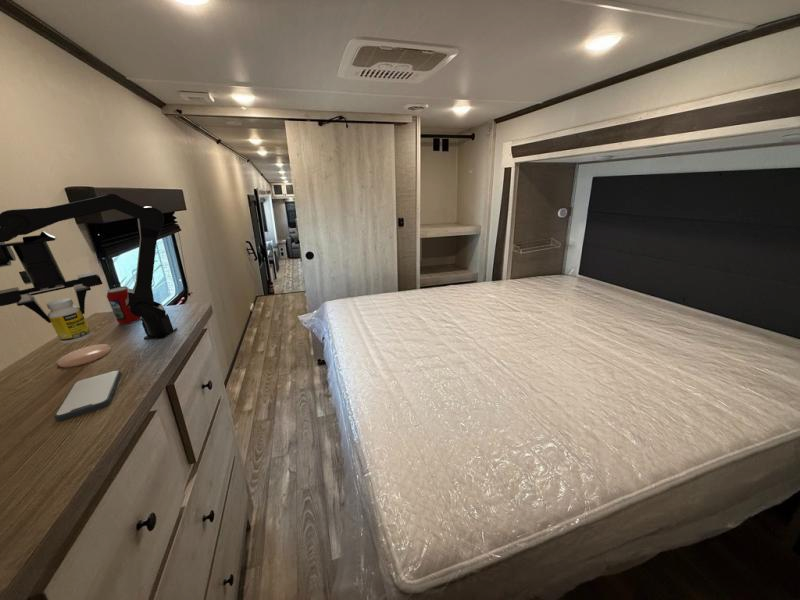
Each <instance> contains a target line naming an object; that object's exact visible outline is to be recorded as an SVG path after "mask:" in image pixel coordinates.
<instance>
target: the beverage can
mask: <svg viewBox="0 0 800 600" xmlns="http://www.w3.org/2000/svg"><path fill="white" fill-rule="evenodd" d="M127 288H128V286H118V287H117V286H116V287H114V288H111V289H108V290H106V291H107V293H106V298H107V301H108V303H109V305H110V308H111V311H112V312H113V315H114V317H115V319H116V321H117V323H118V324H122V325H128V323H129V324H132V322H133V323H135V321H136V322H138V321H139V320H141V319H142V317H137V316H135V315H133V314H132V313H131V312H130V309H129V306H128V307H127V306H126V301H125V300H126V299H127V296H128V294H127ZM128 289H130V288H128Z"/></svg>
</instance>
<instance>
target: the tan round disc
mask: <svg viewBox="0 0 800 600" xmlns="http://www.w3.org/2000/svg"><path fill="white" fill-rule="evenodd" d="M111 351H112V347H111V345H109V344H106V343H102V344H99V343H98V344H93V345H90V346H89V345H88V346H86V347H82V348H79V349H75V350H74V351H71V352H68V353H66V354H65V355H63V356H61V357H60V358H59V359H58V360H57V361H56V363H57V365H58V367H60V368H73V367H78V366H82V364H83V365H85V364H88V363H92V362H94V361H97V360H98V358H99V359H100V358H101V359H102V358H103V357H104V356H106V355H108V354H109V353H110V352H111ZM96 359H97V360H96Z"/></svg>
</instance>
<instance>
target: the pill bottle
mask: <svg viewBox="0 0 800 600" xmlns="http://www.w3.org/2000/svg"><path fill="white" fill-rule="evenodd" d="M46 307H47V309H48V310H50V311H49V312H48V313H47V315H48V317H49V319H50V321H51V323H50V324H51V326H52V327H53V329H54V331H55V333H56V334H57V337H58V339H59V340H60V343H62V344H72V343H76V342H80V341H82V340H85V339H87V338H89V337H90V336H91V335H92V331H91V329H90V327H89V325H88V322H87V321H86V318H85V316H84V314H82V312H81V310H80V307H79V306H77V305H74V301H73V299H72V298H68V297H67V298H60V299H56V300H53V301H50V302H48V303H46Z"/></svg>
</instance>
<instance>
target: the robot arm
mask: <svg viewBox="0 0 800 600" xmlns="http://www.w3.org/2000/svg"><path fill="white" fill-rule="evenodd" d="M111 210H115V211H119V212H121V213H123V214H125V215H128V216H130V217H133V218H135V219H137V226H138V231H139V232H138V233H139V244H138V245H139V246H138V256H137V265H136V266H137V267H136V273H135V274H136V276H135V283H134V285H133V287H132V288H129V289H128V288H127V294H128V296H127V299H126V300H125V301H126V306H127V307H128V306H129V309H130V312H131V313H132V314H133V315H135V316H137V317H141V318H140V320H141V325H142V327H143V330H144V333H145V336H144V337H143V339H144V340H155V339H165V338H166V337H168V336H169V335H170V334H172V333H175V331H177V330H178V327H173V325H172V322H171V319H170V317H169V314H168V313H166V309H165V307H164V306H163V304H162V303H161V302H157V301H155V298H154V293H153V278H154V268H155V258H156V249H157V241H158V238H159V236H160V235H161V232H162V230H163V226H164V224H165V223H164V222H165V215H164V214H163V212H162V211H161V210H160V209H158V208H157V207H153V206H142V205H139V204H137V203H135V202H132V201H130V200H127V199H125V198H122V197H121V196H120V195H117V194H116V193H107V194H104V195H102V196H97V197H93V198H87V199H83V200H78V201H77V200H76V201H73V202H68V203H64V204H58V205H54V206H46V207H43V206H42V207H31V208H30V207H28V208H26V207H25V208H14V209H9V210H5V211H2V212H0V268H3V267H10V266H12V262H14V261H17V259H16V256H17V258H18V259H19V261H20V264H21V265H22V267H23V269H24V270H22V271H18V273H19V275H20V276H19V277H20V278H21V281H22V282H23V284H24V285H32V286H33V287H29V288H26V289H20V288H19V287H18V286H15V287H11V288H6V289H1V290H0V307H4V306H9V305H13V304H16V306H17V307H21V306H24V307H26V308H28V309H29V310H31V311H32V312H34V313H35V314H37V315H38V316H39V317H40V318H42V319H43V320H45V321H46V322H47V323H49V324H52V323H51V321H50V319H49V317H48V313H46V311H45V310H44V308H43V307H42V306H41V305H40V304H39V302H38V301H37V300H36V297H35V296H37V295H40V294H41V295H42V294H46V293H52V292H56V291H60V290H65V289H70V288H73V289H74V293H75V296H76V300H77V303H78V307H79V308H80V310H81V312H82V314H83V315H85V311H86V310H85V308H86V307H85V306H86V304H85V302H86V301H85V300H86V296H87V292H88V291H91V290H92V287H97V286H100V285H103V284H104V283H103V281H102V279H101V277H100V275H99V274H98V273H97V272H96V273H95V271H94V272H93V271H92V272H88V273H84V274H79V275H78V274H77V275H76V276H77V278H73V279H70V280H66V279H65V277H64V275H63V273H62V271H61V269H60V267H59V264H58V263H57V262H58V261H56V258H55V256H54V254H53V252H52V250H51V248H50V246H49V244H48V242H53V241H56V239H57V237H56V236H54V235H52V234H50V233H48V232H46V231H44V230H42V231H41V233H39V234H37V235H29V234H31V233H34V232H36V231H38V230H41V229H44V228H46V227H48V226H51V225H54V224H55V223H59V222H64V221H66V220H67V221H68V220H72V219H76V218H81V217H84V216H88V215H93V214H97V213H101V212H107V211H111ZM24 235H29V236H24ZM18 236H23V237H22V240H21V241H15V242H13V241H12V240H14V239H16V238H17V237H18ZM10 241H12V242H10ZM12 248H13V250H14V251H15V253H14V251H13V250H12ZM15 254H16V255H15Z"/></svg>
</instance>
